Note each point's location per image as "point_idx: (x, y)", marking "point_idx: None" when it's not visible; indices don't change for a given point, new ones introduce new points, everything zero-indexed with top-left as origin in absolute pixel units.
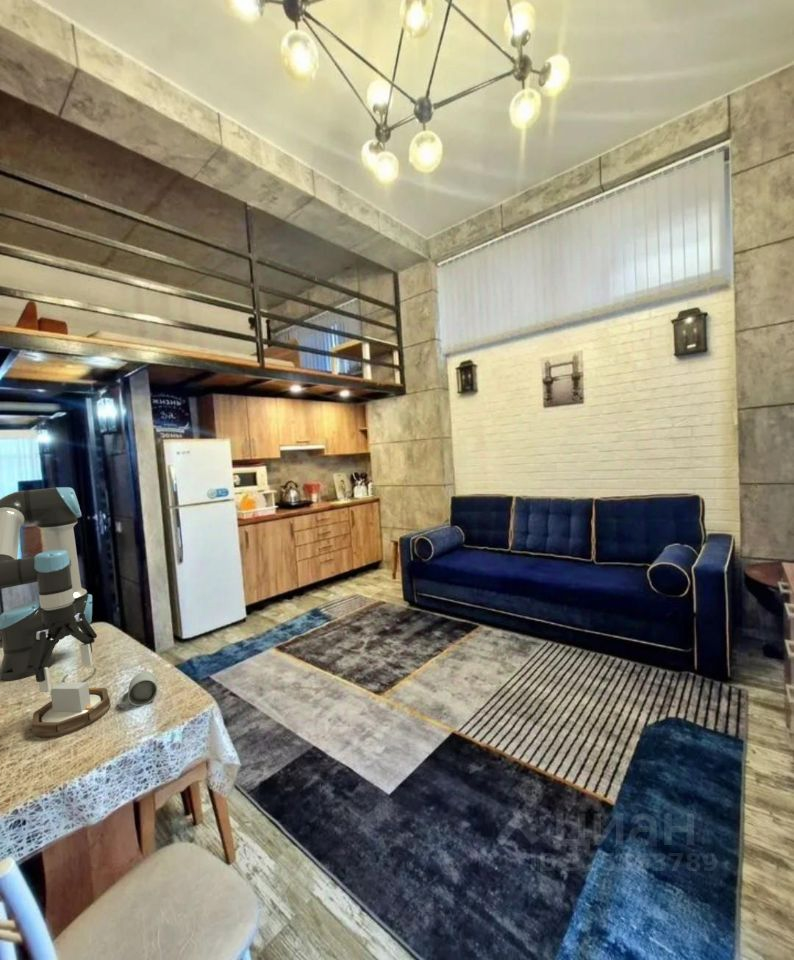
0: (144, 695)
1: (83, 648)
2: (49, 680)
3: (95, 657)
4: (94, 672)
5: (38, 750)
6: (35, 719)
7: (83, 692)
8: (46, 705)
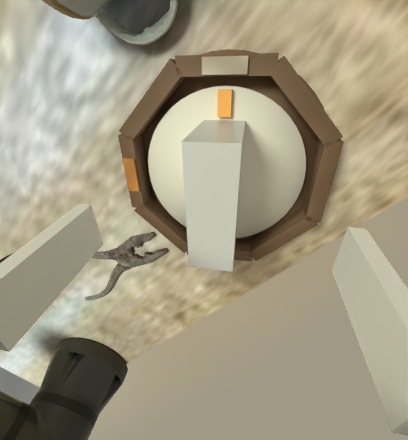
0: None
1: (20, 309)
2: (379, 273)
3: None
4: None
5: (389, 139)
6: (289, 234)
7: (219, 134)
8: None
